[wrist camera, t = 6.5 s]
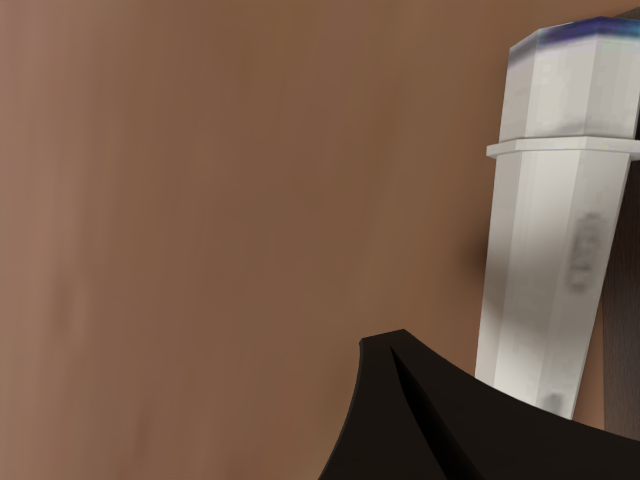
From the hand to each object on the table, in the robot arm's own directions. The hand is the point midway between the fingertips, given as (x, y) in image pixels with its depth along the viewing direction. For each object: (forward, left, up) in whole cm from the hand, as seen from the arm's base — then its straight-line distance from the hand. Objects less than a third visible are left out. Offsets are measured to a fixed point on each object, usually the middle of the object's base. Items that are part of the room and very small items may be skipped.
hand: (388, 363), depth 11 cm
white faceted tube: (-4, -5, -6) cm, 9 cm away
